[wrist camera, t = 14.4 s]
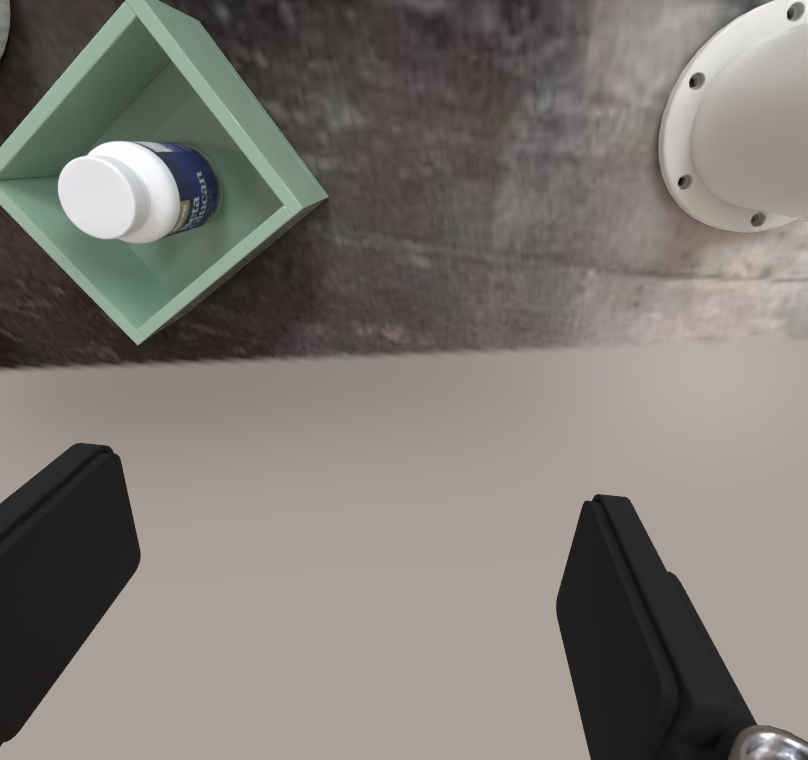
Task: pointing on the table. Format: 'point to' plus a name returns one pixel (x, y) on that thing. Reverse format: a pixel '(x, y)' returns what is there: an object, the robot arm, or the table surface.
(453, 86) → the table surface
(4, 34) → the ramekin
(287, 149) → the green open box
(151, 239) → the pill bottle
